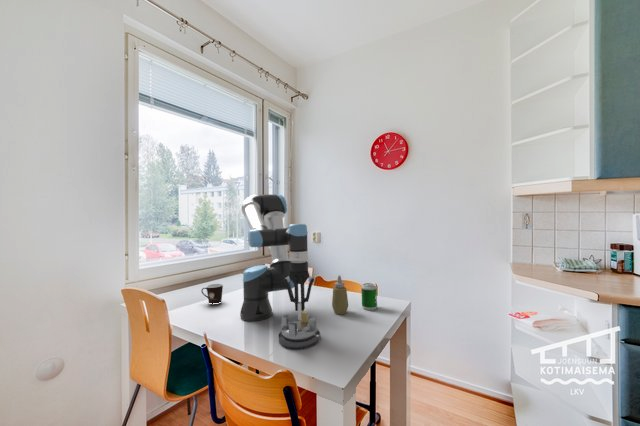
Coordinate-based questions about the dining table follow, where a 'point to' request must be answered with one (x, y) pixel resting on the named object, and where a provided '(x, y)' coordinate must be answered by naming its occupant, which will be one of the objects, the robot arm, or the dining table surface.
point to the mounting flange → (300, 344)
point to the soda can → (369, 296)
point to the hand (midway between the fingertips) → (300, 318)
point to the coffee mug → (214, 293)
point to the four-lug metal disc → (299, 328)
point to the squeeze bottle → (339, 297)
